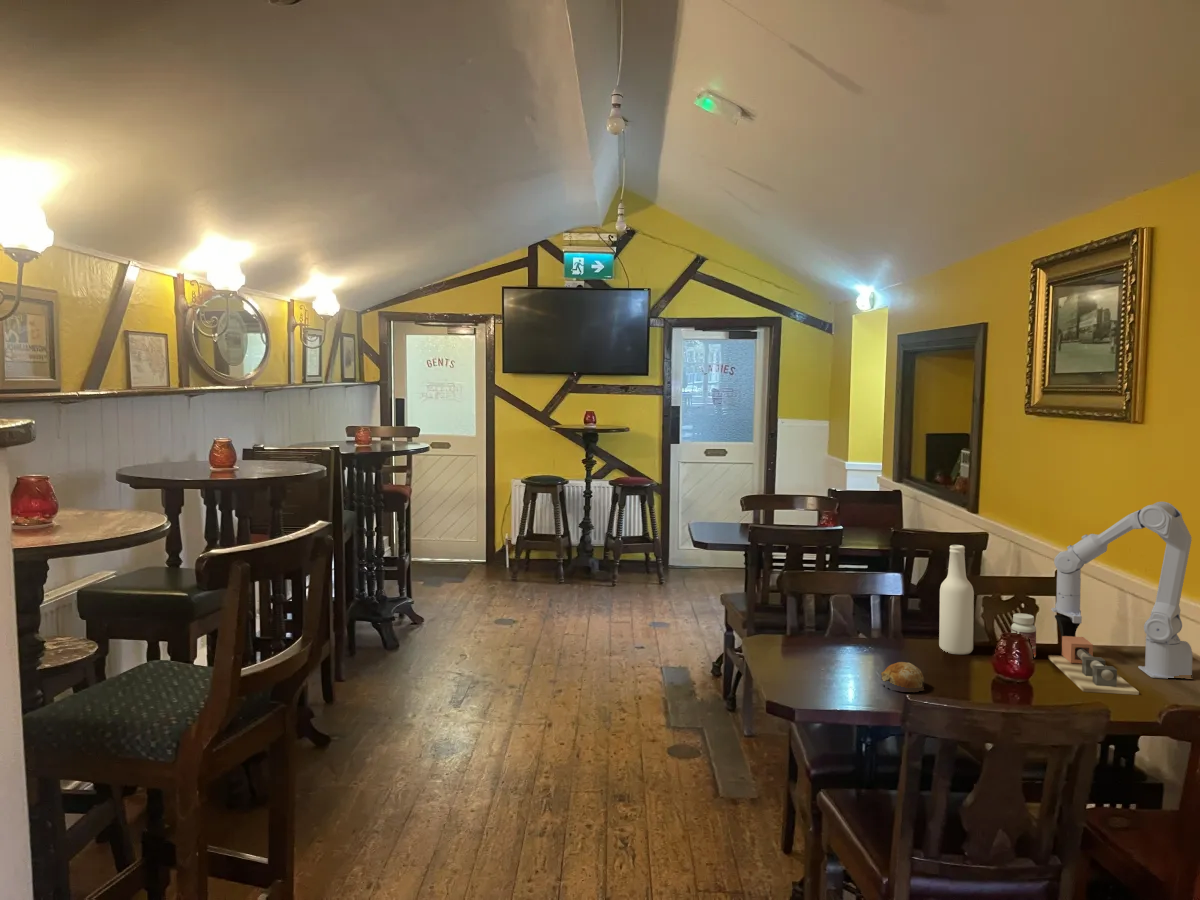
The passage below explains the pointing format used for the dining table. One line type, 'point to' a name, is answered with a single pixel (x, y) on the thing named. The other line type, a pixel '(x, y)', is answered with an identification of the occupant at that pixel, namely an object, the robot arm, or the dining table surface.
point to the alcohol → (956, 606)
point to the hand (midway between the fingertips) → (1067, 642)
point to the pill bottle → (1025, 628)
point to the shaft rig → (1093, 674)
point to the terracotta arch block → (1071, 643)
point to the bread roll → (903, 675)
